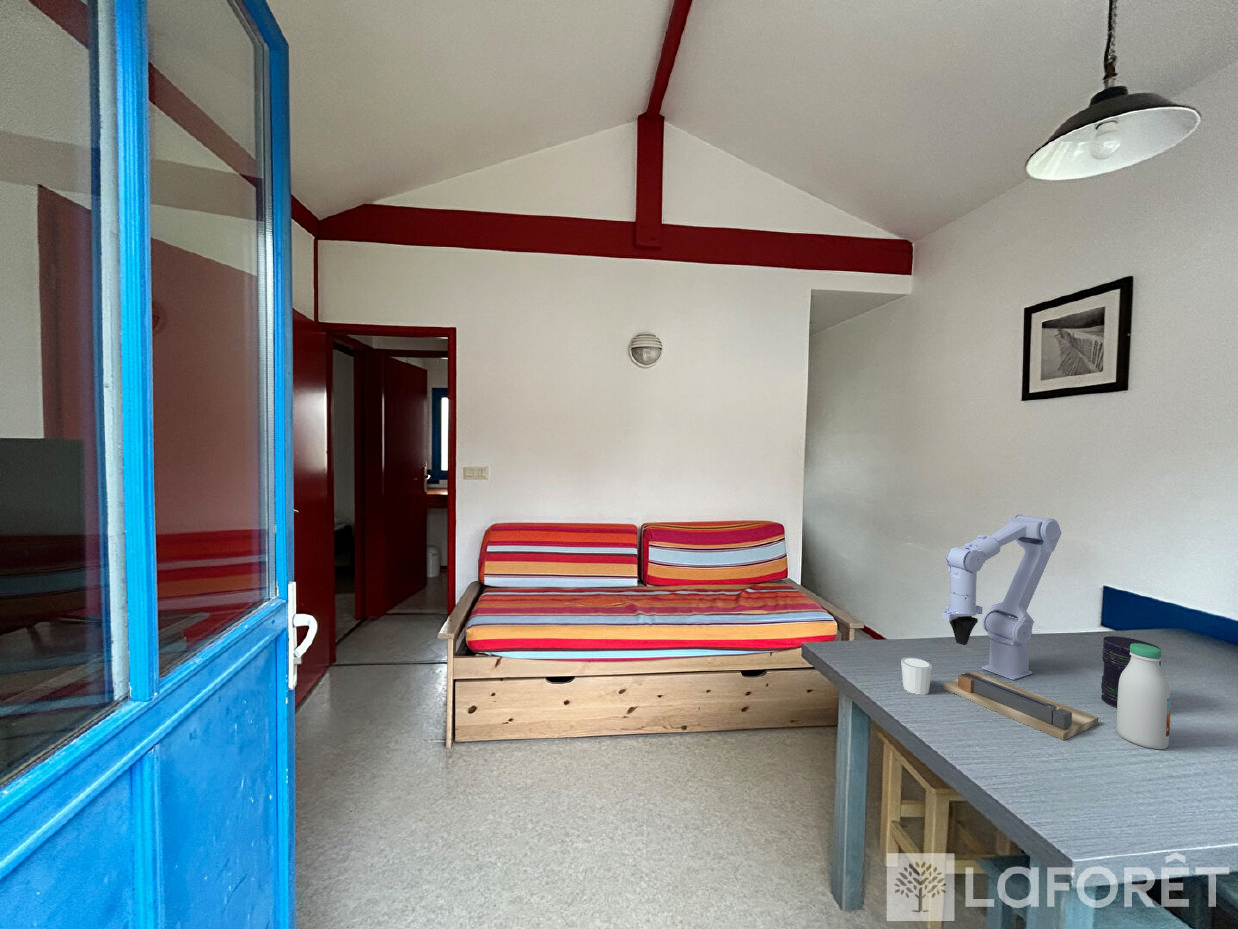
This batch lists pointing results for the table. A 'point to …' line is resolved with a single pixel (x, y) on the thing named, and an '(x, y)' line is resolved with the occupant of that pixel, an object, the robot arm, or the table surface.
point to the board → (1078, 717)
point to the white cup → (916, 675)
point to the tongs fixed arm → (1016, 702)
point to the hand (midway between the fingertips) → (961, 643)
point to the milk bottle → (1144, 699)
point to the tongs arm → (1010, 690)
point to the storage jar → (1115, 665)
